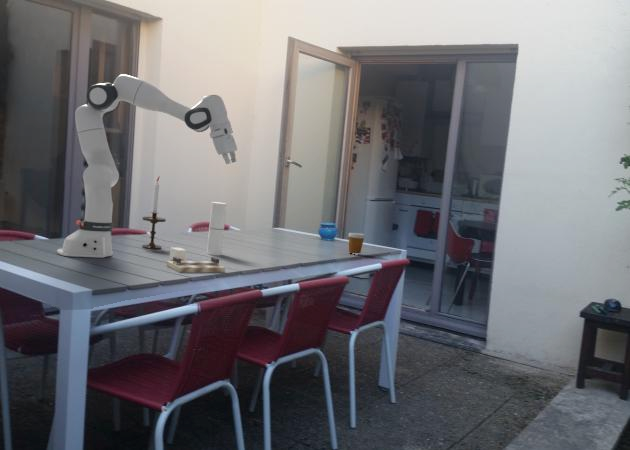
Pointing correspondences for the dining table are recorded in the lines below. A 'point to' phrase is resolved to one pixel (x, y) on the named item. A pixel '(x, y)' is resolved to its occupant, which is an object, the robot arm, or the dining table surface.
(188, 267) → the board
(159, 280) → the dining table surface
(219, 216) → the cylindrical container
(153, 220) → the candlestick
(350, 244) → the glass of beer
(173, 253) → the module
